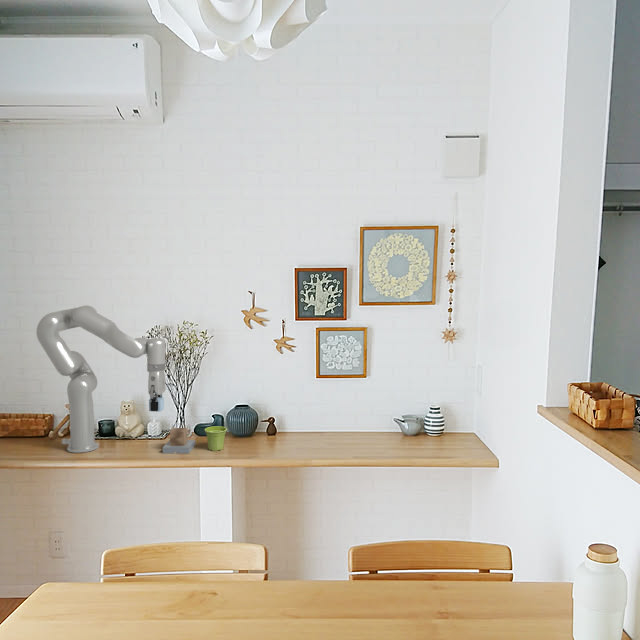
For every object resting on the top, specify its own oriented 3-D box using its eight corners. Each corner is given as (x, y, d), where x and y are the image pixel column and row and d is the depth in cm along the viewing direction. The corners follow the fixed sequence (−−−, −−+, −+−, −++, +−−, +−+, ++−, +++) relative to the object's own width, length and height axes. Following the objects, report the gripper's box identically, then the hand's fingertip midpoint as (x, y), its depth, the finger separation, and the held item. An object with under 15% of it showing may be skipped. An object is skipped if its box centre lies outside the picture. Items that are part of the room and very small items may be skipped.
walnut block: (170, 445, 251) (169, 431, 251) (173, 441, 257) (173, 427, 257) (184, 445, 251) (183, 431, 251) (187, 441, 257) (187, 427, 257)
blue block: (148, 411, 256) (148, 399, 255) (152, 408, 261) (152, 397, 260) (160, 411, 256) (160, 400, 255) (163, 408, 261) (163, 397, 260)
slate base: (162, 453, 249) (162, 447, 249) (170, 445, 260) (170, 439, 260) (189, 453, 249) (188, 447, 249) (195, 445, 260) (195, 440, 260)
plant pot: (229, 446, 259) (229, 426, 258) (224, 452, 250) (223, 432, 249) (208, 445, 260) (208, 425, 259) (202, 452, 251) (201, 431, 250)
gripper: (159, 371, 248) (159, 414, 250) (170, 364, 265) (170, 405, 267) (141, 370, 248) (141, 413, 250) (153, 364, 265) (153, 404, 267)
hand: (156, 408), depth 258 cm, fingers closed on blue block, 5 cm apart
